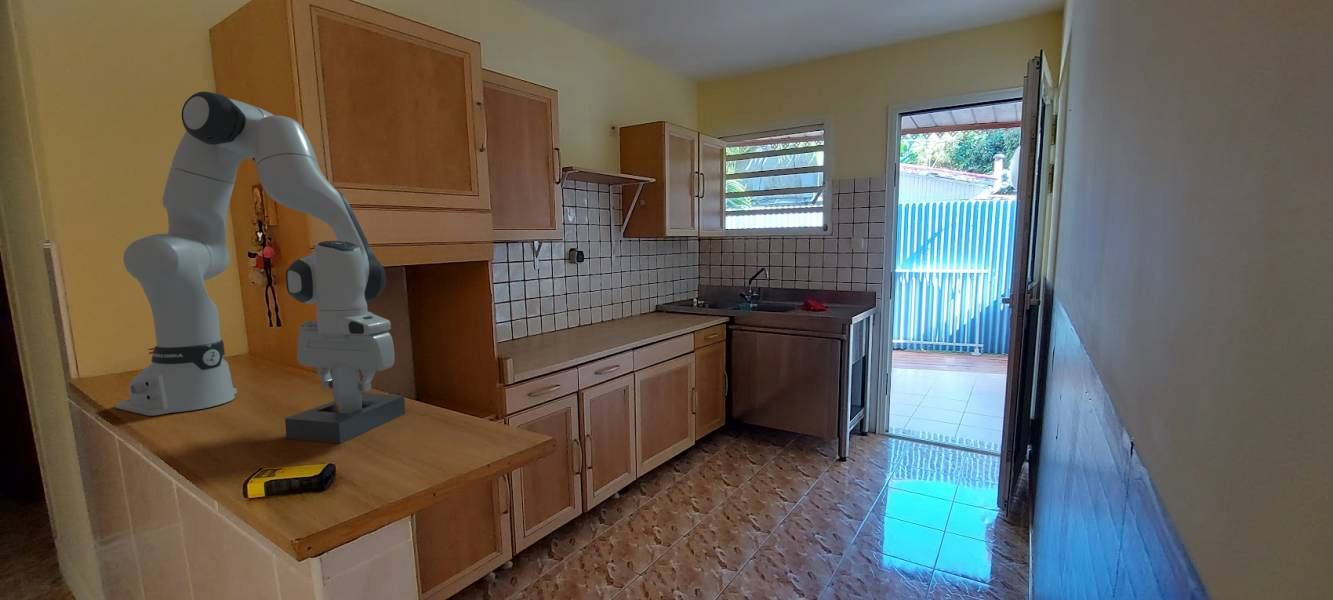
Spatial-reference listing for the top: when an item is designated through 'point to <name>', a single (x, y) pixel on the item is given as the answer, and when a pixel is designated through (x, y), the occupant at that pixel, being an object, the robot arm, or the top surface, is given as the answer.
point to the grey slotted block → (344, 419)
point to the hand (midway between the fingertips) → (347, 389)
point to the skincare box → (346, 389)
